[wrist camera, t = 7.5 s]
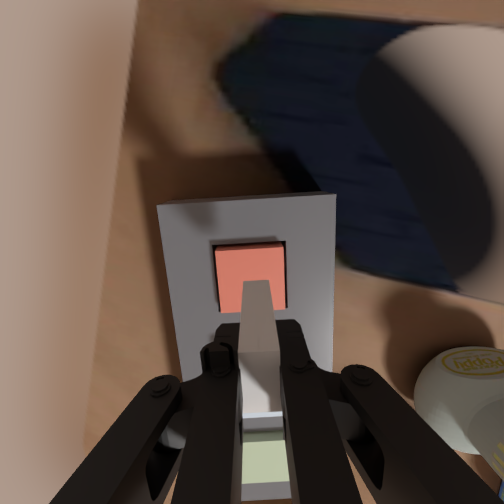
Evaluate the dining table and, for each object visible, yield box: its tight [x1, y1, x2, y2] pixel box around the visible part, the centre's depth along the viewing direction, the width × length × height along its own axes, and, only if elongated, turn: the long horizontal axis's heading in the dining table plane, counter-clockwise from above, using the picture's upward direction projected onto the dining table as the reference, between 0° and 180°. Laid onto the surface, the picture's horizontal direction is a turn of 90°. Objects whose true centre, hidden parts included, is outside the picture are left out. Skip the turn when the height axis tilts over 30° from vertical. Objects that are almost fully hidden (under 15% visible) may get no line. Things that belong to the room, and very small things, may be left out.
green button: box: [242, 430, 289, 484], centre depth 27 cm, size 5×5×3 cm
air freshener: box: [414, 346, 504, 482], centre depth 24 cm, size 11×8×10 cm
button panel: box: [156, 191, 336, 501], centre depth 26 cm, size 30×13×4 cm, turn 3°
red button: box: [215, 241, 285, 313], centre depth 22 cm, size 5×5×3 cm
